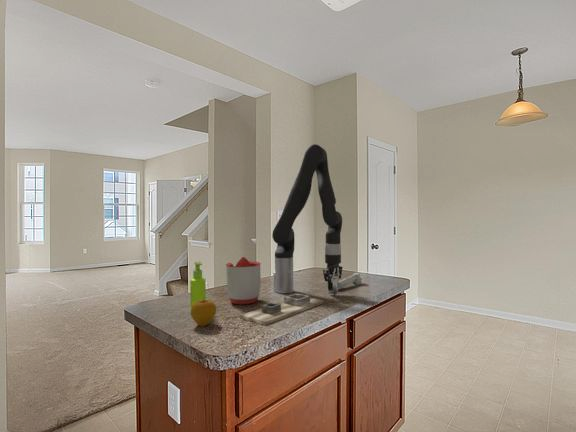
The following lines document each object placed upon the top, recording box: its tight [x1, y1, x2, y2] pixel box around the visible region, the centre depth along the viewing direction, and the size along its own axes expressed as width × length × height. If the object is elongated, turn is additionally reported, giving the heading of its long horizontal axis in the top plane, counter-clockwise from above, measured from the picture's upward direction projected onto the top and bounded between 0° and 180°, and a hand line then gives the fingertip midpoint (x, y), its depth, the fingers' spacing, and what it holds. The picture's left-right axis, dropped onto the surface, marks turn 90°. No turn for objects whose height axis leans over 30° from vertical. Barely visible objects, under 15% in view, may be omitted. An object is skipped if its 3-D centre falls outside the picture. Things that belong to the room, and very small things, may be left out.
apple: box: [190, 299, 217, 327], centre depth 114 cm, size 9×9×9 cm
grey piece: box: [338, 272, 363, 291], centre depth 171 cm, size 5×7×25 cm
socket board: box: [240, 293, 324, 326], centre depth 131 cm, size 13×36×4 cm, turn 140°
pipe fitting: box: [328, 275, 339, 295], centre depth 154 cm, size 4×4×8 cm
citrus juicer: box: [225, 256, 262, 306], centre depth 146 cm, size 16×17×20 cm
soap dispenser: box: [189, 261, 207, 309], centre depth 130 cm, size 6×7×20 cm
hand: (333, 289), depth 154 cm, fingers closed on pipe fitting, 4 cm apart
